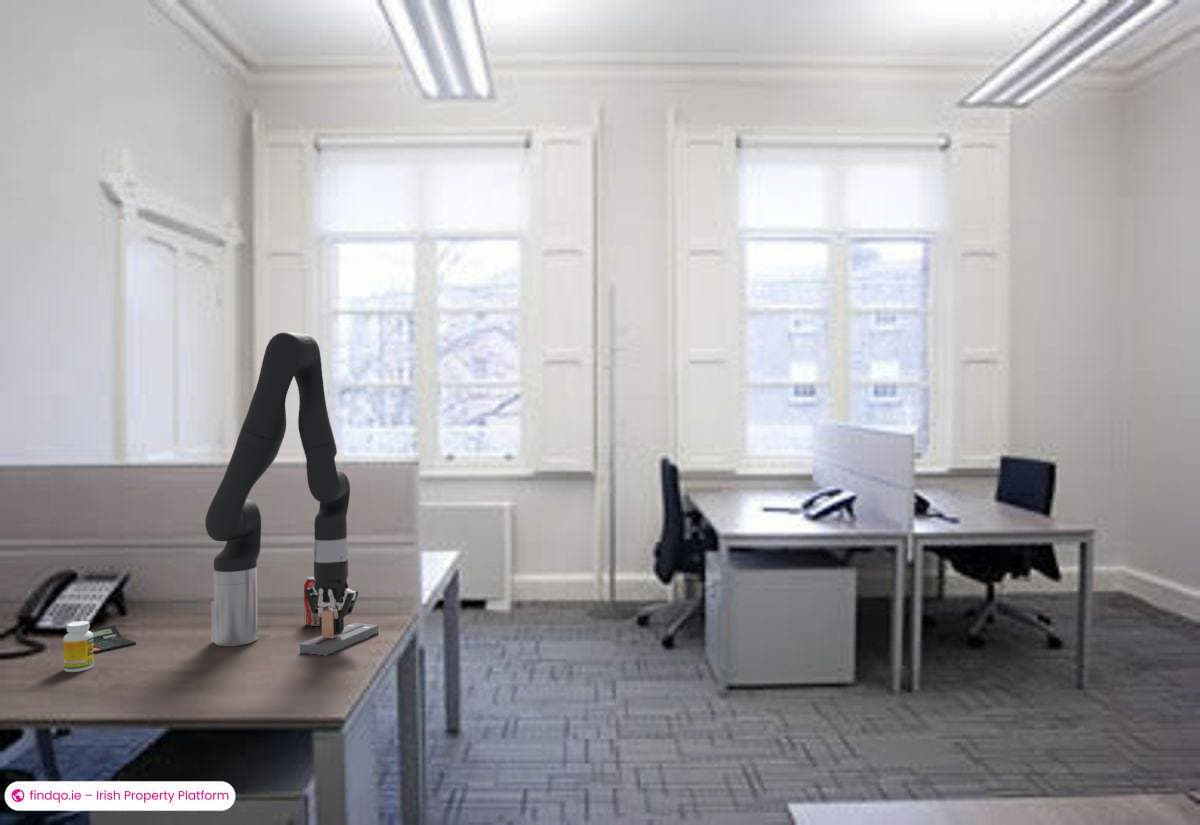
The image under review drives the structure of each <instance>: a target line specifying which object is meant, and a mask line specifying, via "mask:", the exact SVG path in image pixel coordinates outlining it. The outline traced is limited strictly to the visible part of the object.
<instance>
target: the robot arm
mask: <svg viewBox="0 0 1200 825" xmlns="http://www.w3.org/2000/svg"><path fill="white" fill-rule="evenodd" d="M321 358H322V357H321V351H320V346H319V345H318V342H317V341H316V339H315V338H314V337H312V335H309V334H307V333H303V332H292V331H283V332H279V333H278V332H277V334H275V335H273V336H272V338H270V340H269V341H268V343H267V344H266V347H265V350H264V355H263V358H262V363H261V367H260V372H259V376H258V380H257V384H256V387H255V390H254V392H253V395H252V398H251V401H250V405H249V408H248V410H247V413H246V416H245V418H244V421H243V422H242V425H241V429H240V432H239V435H238V436H237V440H236V444H235V446H234V449H233V452H232V455H231V457H230V460H229V463H228V464H227V465H228V466H227V469H226V471H225V473H224V476H223V477H222V480H221V482H220V485H219V487H218V489H217V491H216V493H215V495H214V497H213V499H212V500H211V502H210V505H209V506H208V509H207V512H206V517H205V523H204V524H205V529H206V533H207V535H208V537H210V539H211V540H212V541H213V540H214V541H216V542H225V543H226V544H225V546H224V548H223V549H222V551H220V552H219V553H218V554H217V555H216V556H215V557H214V558H213V594H214V595H213V597H214V598H213V599H214V600H212V601H210V602H211V603H210V624H211V626H210V628H211V630H210V632H211V633H210V634H211V636H210V638H211V643H214V644H215V645H216V646H220V647H235V646H242V645H247V644H248V645H249V644H250V643H253V642H256V641H257V640H258V575H257V574H258V568H257V567H258V566H257V564H258V557H259V555H260V552H261V542H262V541H261V538H262V516H261V511H260V509H259V507H258V505H257V503H256V501H255V502H254V501H253V500H252V499H250V498H248V496H249V494H250V492H251V490H252V488H253V487H254V486H255V484H256V482H258V480H260V478H261V477H262V476H263V474H265V472H266V471H267V470H268V469H269V468H270V467H271V465H272V464H273V462H274V461H275V459H276V457H277V455H278V454H279V451H280V448H281V446H282V444H283V441H284V440H283V439H284V438H285V434H286V432H287V431H286V430H287V413H286V402H287V401H286V399H287V396H288V392H289V389H290V386H291V384H292V382H293V380H294V379H295V382H296V386H297V390H298V396H299V397H298V398H299V402H298V404H299V405H298V416H297V417H298V420H297V422H298V423H297V425H298V432H299V433H298V434H299V437H300V441H301V445H302V450H303V452H304V455H305V460H306V463H305V465H306V476H307V485H308V489H309V492H310V494H311V495H312V497H313V498H314V499H315V500H316V501H317V502H319V510H318V512H317V514H316V516H315V518H314V525H313V526H314V541H313V542H314V544H313V575H314V579H315V580H316V582H315V585H314V587H311V588H307V589H305V594H306V597H307V600H308V602H309V605H310V608H311V611H312V613H313V614H314V613H316V614H317V615H318V616H319V623H320V627H319V630H320V633H321V634H322V611H323V610H325V609H329V608H330V605H331V608H332V609H333V613H334V618H335V619H334V635H339V634H341V633H342V631H343V630H344V627H345V626H344V623H345V622H344V621H345V620H344V618H345V617H346V616H349V615H351V614H352V613H353V610H354V607H355V604H356V602H357V599H358V596H359V592H358V591H357V590H352V589H350V588H349V584H348V582H347V580H348V577H349V545H348V535H347V531H348V530H347V529H348V528H347V526H348V525H347V524H348V522H347V514H348V510H349V503H350V495H351V487H350V486H351V484H350V481H349V478H348V476H347V474H345V473H344V472H343V471H342V470H338V469H337V466H336V461H335V458H336V456H337V455H338V454H337V453H338V449H337V445H336V440H335V436H334V432H333V429H332V427H331V422H330V417H329V412H328V406H327V401H326V394H325V387H324V378H323V368H322V359H321ZM318 595H319V596H318ZM315 604H316V606H315Z"/></svg>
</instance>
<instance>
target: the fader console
mask: <svg viewBox="0 0 1200 825" xmlns="http://www.w3.org/2000/svg"><path fill="white" fill-rule="evenodd" d="M377 633H380V632H379V625H378V624H372V623H371V624H370V623H361V622H352V623H350V624H347V625H345V626H344V630H343V631H342V633H341V635H340V636H338V637H335V638H333V639H332V638H324V637H322V635H320V636H317V637H314V638H312V639H309V640H307V641H304V642H301V643H299V653H300V654H304V653H310V654H309V655H312V654H319V655H318V656H320V655H327V656H329V655H328V654H330V653H332V654H334V653H336V652H335V651H337V650H339V649H341V650H343V649H342V648H344V647H346V646H348V647H350V646H349V645H351V644H353V643H355V642H358V641H360V640H362V641H364V640H363V639H365V638H367V637H369V636H372V635H374V634H376V635H378V634H377ZM374 636H375V635H374ZM372 637H373V636H372ZM369 638H370V637H369ZM367 639H368V638H367ZM365 640H366V639H365ZM360 642H361V641H360ZM358 643H359V642H358ZM355 644H356V643H355ZM353 645H354V644H353ZM351 646H352V645H351ZM346 648H347V647H346ZM344 649H345V648H344ZM339 651H340V650H339ZM333 652H334V653H333ZM337 652H338V651H337ZM330 655H331V654H330Z"/></svg>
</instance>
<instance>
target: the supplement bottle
mask: <svg viewBox="0 0 1200 825" xmlns="http://www.w3.org/2000/svg"><path fill="white" fill-rule="evenodd" d="M90 627H91V626H90V621H87V620H80V621H73V622H69V623H67V624H66V631H67V633H66V634H65V635H64V636H63V641H62V642H63V670H64V671H65V672H67V673H79V672H84V671H88V670H90V669H91V668H93V666H94V662H95V661H94V656H95V655H94V654H93V633H92V632H91V631H89V630H90Z"/></svg>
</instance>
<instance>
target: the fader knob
mask: <svg viewBox="0 0 1200 825" xmlns="http://www.w3.org/2000/svg"><path fill="white" fill-rule="evenodd" d="M334 619H335V618H334V613H333V609H332V608H329V609H325V610H323V611H322V633H321V636H322V637H324V638H332V639H333V638H335V637H338V636H340V635H341V634H339V635H334Z"/></svg>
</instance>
